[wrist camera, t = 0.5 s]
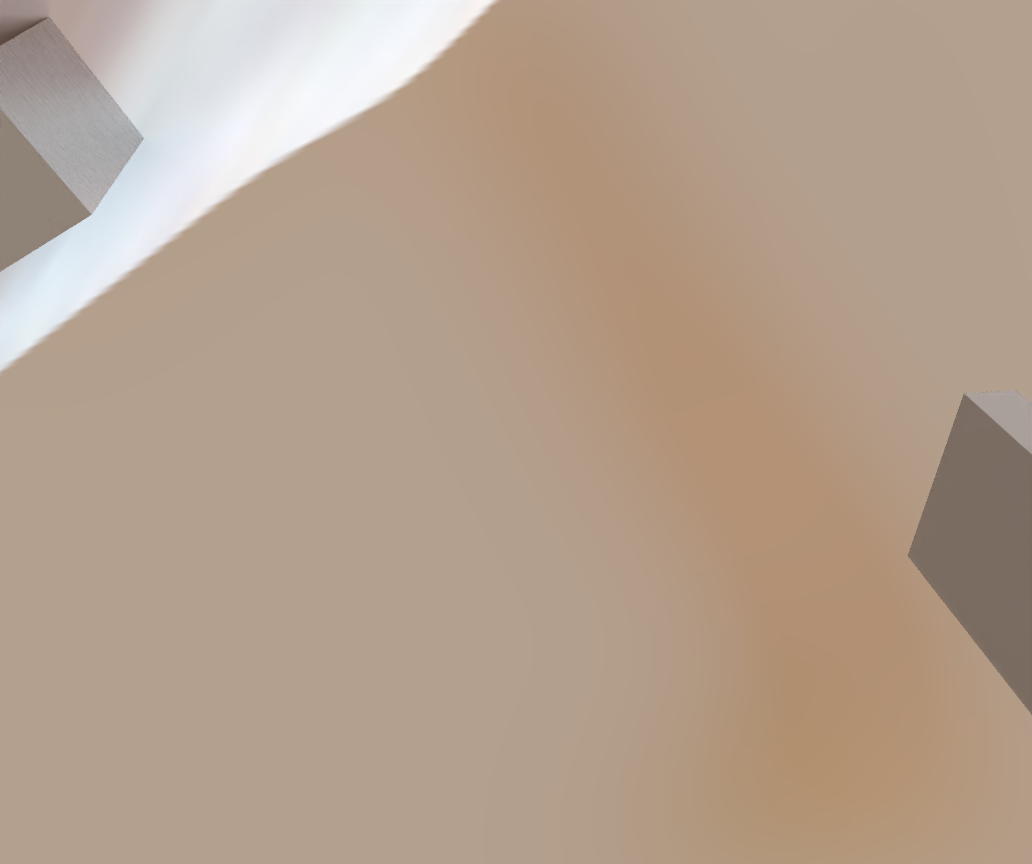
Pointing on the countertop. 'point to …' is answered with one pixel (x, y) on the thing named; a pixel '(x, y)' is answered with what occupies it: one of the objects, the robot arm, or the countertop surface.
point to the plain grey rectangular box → (53, 140)
